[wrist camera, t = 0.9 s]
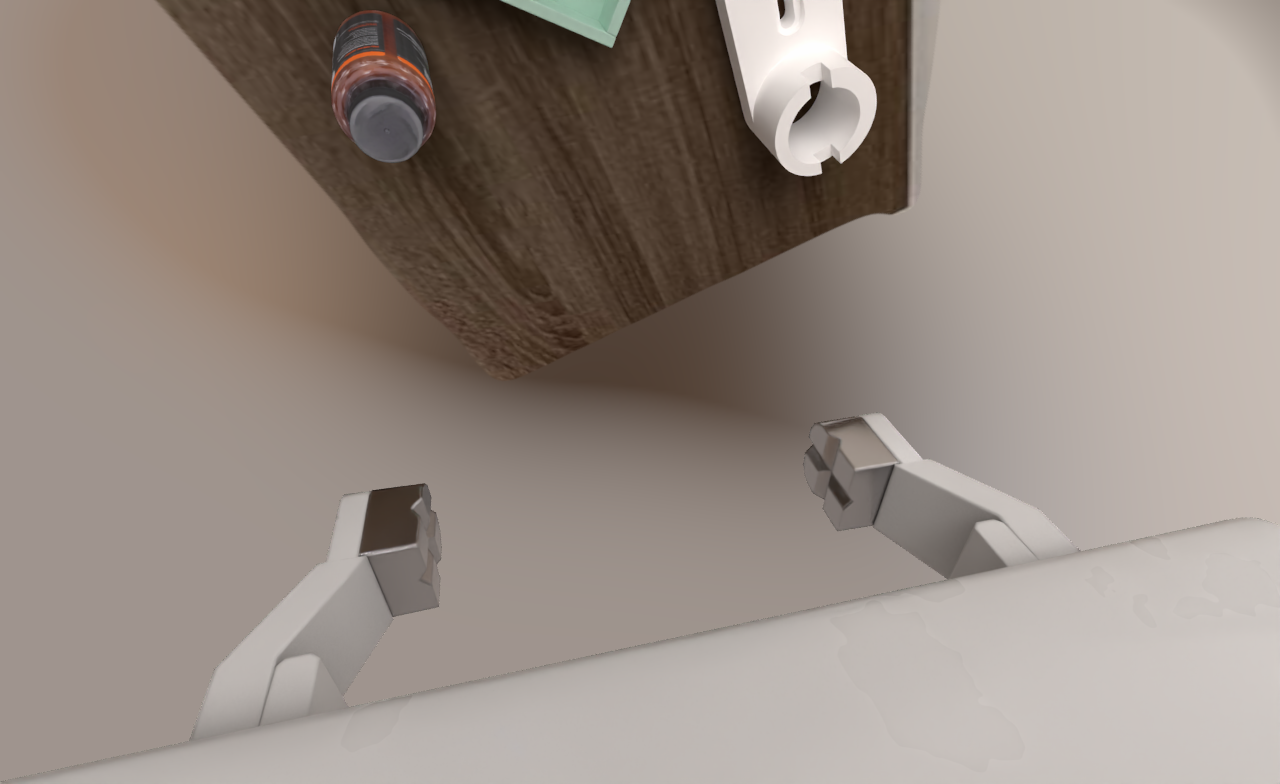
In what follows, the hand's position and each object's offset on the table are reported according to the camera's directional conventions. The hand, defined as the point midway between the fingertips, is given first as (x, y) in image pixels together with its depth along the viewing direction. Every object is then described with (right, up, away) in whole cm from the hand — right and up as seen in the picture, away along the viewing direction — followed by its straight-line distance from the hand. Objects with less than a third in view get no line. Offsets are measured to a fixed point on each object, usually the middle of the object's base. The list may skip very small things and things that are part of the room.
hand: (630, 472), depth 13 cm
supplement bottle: (-18, +25, +29) cm, 42 cm away
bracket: (+11, +31, +36) cm, 49 cm away
